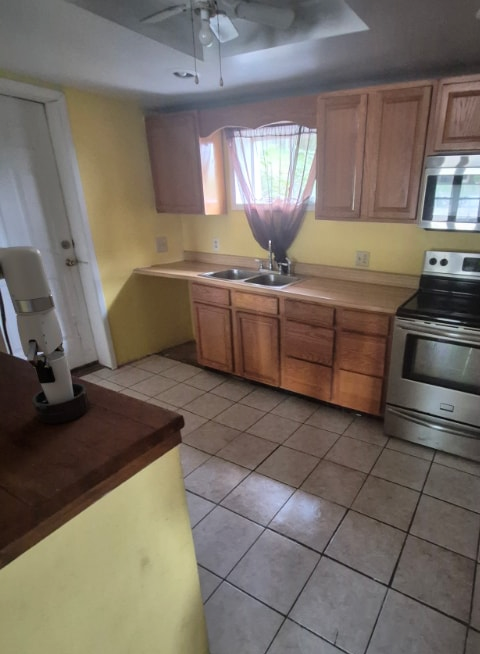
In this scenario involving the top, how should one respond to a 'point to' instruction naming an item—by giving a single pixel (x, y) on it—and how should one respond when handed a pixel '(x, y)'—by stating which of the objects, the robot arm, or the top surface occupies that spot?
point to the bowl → (61, 406)
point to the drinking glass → (58, 379)
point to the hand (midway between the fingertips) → (54, 374)
